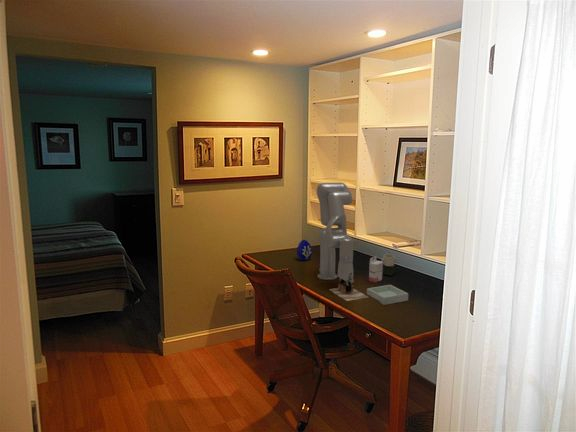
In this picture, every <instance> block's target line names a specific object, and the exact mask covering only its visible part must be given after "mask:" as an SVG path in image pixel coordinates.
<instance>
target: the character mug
mask: <svg viewBox="0 0 576 432" xmlns="http://www.w3.org/2000/svg"><path fill="white" fill-rule="evenodd" d="M380 261H382V262H383V266H384V267H383V272H382V275H385V276H393V275H394V267H393V266H395V263H397V257H395V254H392V253H391V254H390V253H385V254H383V256H382V258H381V259H380Z"/></svg>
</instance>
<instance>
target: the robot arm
mask: <svg viewBox="0 0 576 432" xmlns="http://www.w3.org/2000/svg"><path fill="white" fill-rule="evenodd" d="M316 195H317V199H318V202H319V212H320V214H319V215H320V223H321V225H322V226H325V228H322V229H321V230H319V232H318V238H319V240H318V241H319V246H320V247H319V251H320V254H319V262H320V263H319V269H318V271H319V273H318V274H317V278H318V279H320V280H323V281H324V280H325V281H331V280H332V281H333V280H336V279H337V278H339V284H342V283H344V282H346V283H347V285H346V292H351V285H353V283H354V282H355V280H354V264H353V262H354V239H353V238H352V237H351V236H350V235H349V234H348V230H347V228H348V227H347V215H346V213H345V207H344V206H350V205H351V204H352V203H353V195H352V193H351V191H350V189H349V187H348V186H347V184H345V183H344V182H339V181H338V182H321V183H320V184H318V185H317V187H316ZM333 226H335V227H333ZM336 226H337V227H336ZM336 249H339V259H338V260H339V261H338V266H337V267H338V268H337V273H336Z"/></svg>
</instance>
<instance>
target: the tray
mask: <svg viewBox="0 0 576 432" xmlns="http://www.w3.org/2000/svg"><path fill="white" fill-rule="evenodd" d="M366 294H367V296H369V297H372V298H373V299H375V300H377V301H376V302H377V303H379V304H381V305H383V306H385V305H392V304H395V303H396V304H397V303H402V302H408V301H409V293H408V292H407V291H404V290H402V289H400V288H398V287H396V286H394V285H392V284H385V285H380V286H375V287H369V288H366Z"/></svg>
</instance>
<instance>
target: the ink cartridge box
mask: <svg viewBox="0 0 576 432" xmlns="http://www.w3.org/2000/svg"><path fill="white" fill-rule="evenodd" d="M377 258H378V256H377V255H376V256H373V257H370V259H369V269H368V270H369V271H368V281H369V282H371V283H378V282H380V281H382V280H383V270H384V267H383V266H384V264H383V262H382V261H381V260H377Z"/></svg>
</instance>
